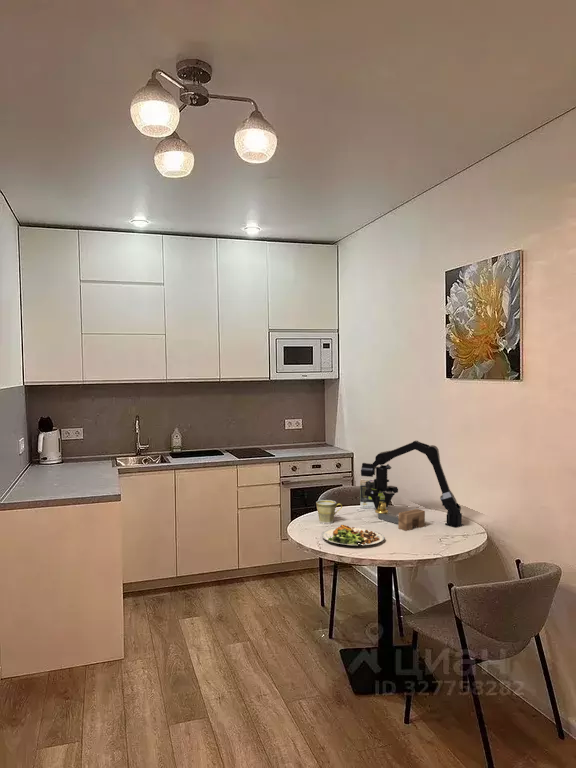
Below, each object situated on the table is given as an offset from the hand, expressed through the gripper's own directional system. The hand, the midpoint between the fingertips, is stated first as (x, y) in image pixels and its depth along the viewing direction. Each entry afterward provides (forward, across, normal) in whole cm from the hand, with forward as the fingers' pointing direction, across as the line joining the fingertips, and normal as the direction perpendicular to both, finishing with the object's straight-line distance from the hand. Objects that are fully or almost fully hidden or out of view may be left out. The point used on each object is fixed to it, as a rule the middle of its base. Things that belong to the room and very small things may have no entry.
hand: (381, 507), depth 289 cm
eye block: (+6, 0, +20) cm, 21 cm away
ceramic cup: (+6, +26, -10) cm, 29 cm away
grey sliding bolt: (+5, 0, +6) cm, 8 cm away
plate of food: (+6, +36, +17) cm, 40 cm away
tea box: (+6, -15, -20) cm, 26 cm away
